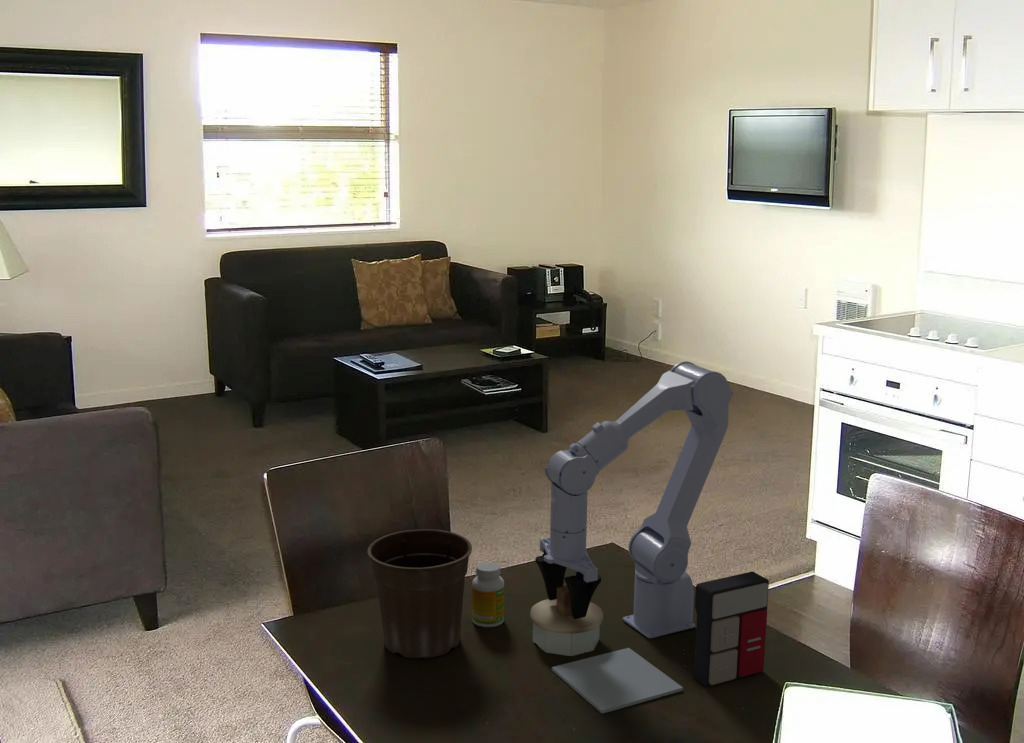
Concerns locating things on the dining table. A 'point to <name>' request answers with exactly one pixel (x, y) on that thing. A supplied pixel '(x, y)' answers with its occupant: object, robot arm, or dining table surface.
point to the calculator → (730, 627)
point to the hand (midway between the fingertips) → (566, 607)
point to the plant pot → (420, 590)
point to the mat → (616, 680)
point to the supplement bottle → (488, 595)
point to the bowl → (565, 641)
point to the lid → (564, 615)
